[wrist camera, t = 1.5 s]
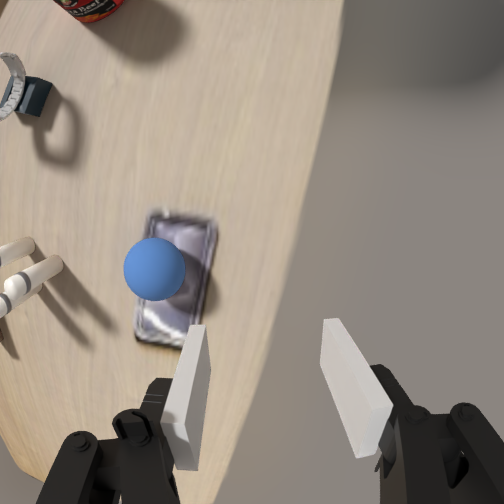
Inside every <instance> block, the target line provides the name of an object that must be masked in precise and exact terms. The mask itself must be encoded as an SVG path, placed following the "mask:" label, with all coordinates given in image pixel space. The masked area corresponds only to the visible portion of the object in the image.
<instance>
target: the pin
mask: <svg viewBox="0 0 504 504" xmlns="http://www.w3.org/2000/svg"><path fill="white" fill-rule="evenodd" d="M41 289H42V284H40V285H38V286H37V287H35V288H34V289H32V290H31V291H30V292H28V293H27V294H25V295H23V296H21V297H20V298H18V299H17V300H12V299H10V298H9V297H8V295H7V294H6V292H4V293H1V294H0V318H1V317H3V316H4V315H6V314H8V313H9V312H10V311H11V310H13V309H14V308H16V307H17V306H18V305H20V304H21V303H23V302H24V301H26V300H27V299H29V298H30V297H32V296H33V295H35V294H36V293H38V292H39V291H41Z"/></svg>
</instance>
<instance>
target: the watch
mask: <svg viewBox="0 0 504 504" xmlns="http://www.w3.org/2000/svg"><path fill="white" fill-rule="evenodd" d="M0 58H2V59H3V61H4V62H5V63H6V65H7V66H8V68H9V70H10V73H11V77H10V80H9V82H8V85H7V87H6V90H5V93H4V95H3V98H2V101H1V104H0V108H1V109H0V121H2V120H4V119H6V118H7V117H8V116H9V115H10V114H11V113H12V112H13V111H14V112H19V113H23V114H27V115H34V116H38V117H40V114H41V111H42V109H43V106H44V103H45V101H46V98H47V96H48V93H49V91H50V88H51V86H52V83H50V82H48V81H46V80H43V79H41V78H38V77H30V76H25V75H26V72H25V69H24V66H23V64H22V62H21V60H20V59H19V57H18V56H17V55H16V54H13V53H0Z"/></svg>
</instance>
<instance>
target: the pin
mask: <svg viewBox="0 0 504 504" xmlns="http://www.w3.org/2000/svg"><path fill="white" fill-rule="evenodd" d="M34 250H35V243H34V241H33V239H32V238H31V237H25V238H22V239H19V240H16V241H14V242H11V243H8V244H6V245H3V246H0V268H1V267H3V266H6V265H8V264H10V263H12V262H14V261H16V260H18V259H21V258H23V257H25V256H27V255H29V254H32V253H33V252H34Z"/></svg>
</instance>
